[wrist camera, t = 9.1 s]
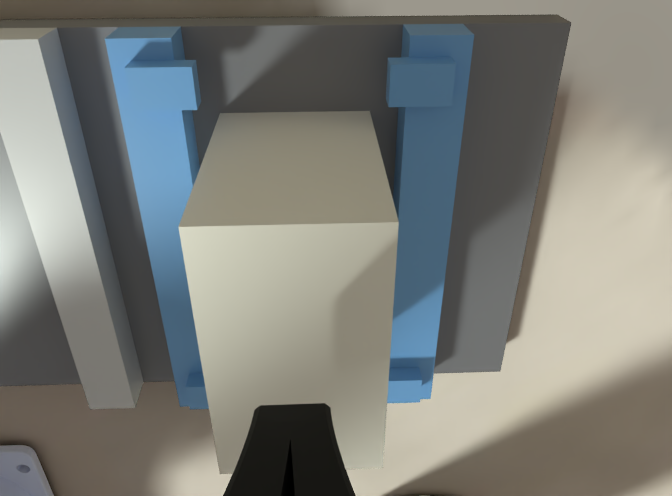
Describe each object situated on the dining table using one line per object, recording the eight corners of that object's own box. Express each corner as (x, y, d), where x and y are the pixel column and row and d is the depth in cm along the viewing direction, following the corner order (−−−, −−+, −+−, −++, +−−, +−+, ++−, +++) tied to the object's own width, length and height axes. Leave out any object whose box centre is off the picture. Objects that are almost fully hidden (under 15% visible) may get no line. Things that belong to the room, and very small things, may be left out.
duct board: (492, 352, 22) (514, 409, 20) (-164, 371, 21) (-224, 433, 19) (557, 14, 16) (601, 39, 13) (-382, 23, 15) (-513, 51, 12)
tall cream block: (363, 314, 20) (382, 467, 15) (242, 317, 19) (219, 473, 14) (369, 110, 16) (398, 222, 11) (220, 112, 16) (178, 226, 11)
